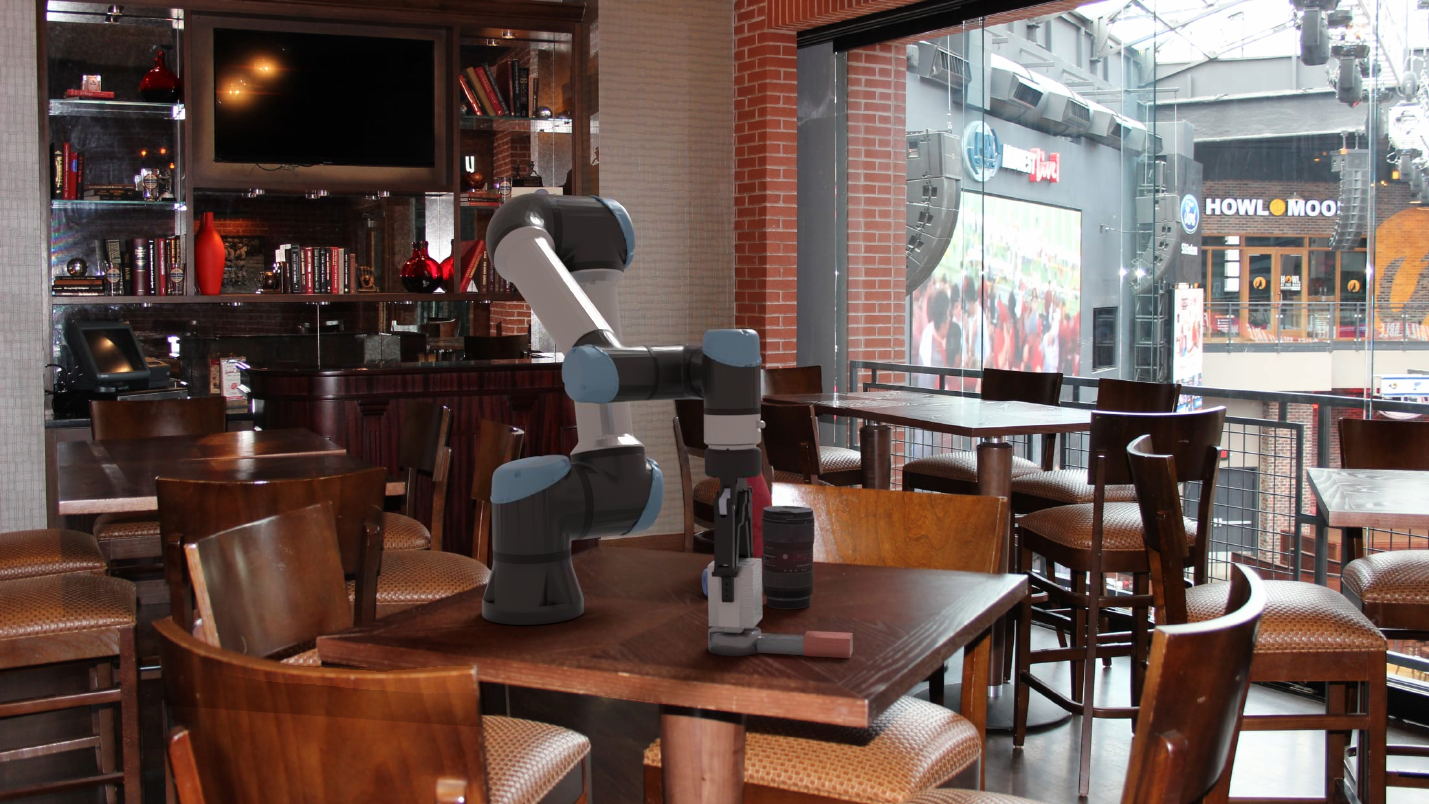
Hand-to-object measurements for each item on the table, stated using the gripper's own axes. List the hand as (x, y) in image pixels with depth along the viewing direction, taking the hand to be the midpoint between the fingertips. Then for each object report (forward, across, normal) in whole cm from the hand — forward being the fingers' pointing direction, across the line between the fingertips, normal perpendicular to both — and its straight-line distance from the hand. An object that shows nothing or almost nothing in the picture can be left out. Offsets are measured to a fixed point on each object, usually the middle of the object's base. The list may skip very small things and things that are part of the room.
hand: (735, 619), depth 163 cm
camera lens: (+4, +28, -2) cm, 28 cm away
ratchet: (+4, 0, -6) cm, 7 cm away
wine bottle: (+4, +51, +9) cm, 52 cm away
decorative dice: (+4, +33, +10) cm, 35 cm away
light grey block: (0, 0, 0) cm, 0 cm away
